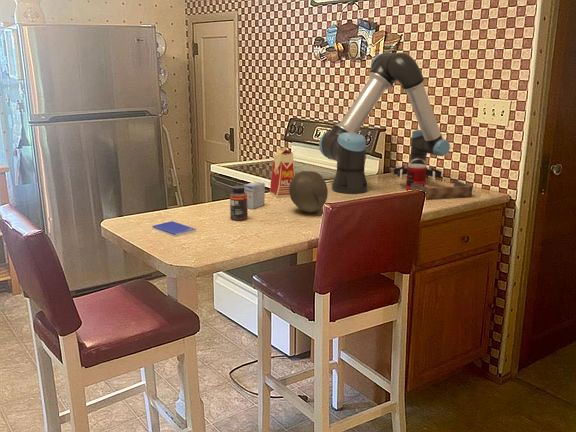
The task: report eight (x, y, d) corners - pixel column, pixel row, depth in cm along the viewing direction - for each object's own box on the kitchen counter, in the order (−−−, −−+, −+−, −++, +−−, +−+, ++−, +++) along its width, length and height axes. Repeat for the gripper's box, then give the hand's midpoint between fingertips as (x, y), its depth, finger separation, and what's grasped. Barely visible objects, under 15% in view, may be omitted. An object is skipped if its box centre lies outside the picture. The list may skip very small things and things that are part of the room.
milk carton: (297, 196, 230) (299, 146, 225) (276, 197, 227) (277, 147, 222) (289, 191, 238) (290, 143, 233) (268, 192, 235) (269, 144, 230)
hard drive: (196, 228, 182) (173, 220, 190) (175, 233, 176) (152, 225, 184) (196, 233, 182) (173, 225, 190) (175, 238, 176) (152, 230, 185)
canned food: (426, 190, 245) (429, 164, 242) (420, 193, 239) (422, 167, 236) (409, 187, 249) (411, 162, 246) (403, 191, 243) (404, 165, 240)
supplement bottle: (244, 215, 201) (244, 184, 198) (249, 220, 196) (249, 187, 192) (228, 217, 199) (227, 185, 196) (232, 221, 193) (232, 189, 190)
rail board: (423, 200, 228) (424, 189, 226) (410, 193, 238) (411, 183, 237) (471, 197, 234) (472, 186, 233) (456, 191, 244) (457, 180, 243)
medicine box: (255, 203, 218) (255, 181, 216) (264, 205, 216) (265, 182, 213) (243, 207, 211) (243, 184, 209) (253, 209, 209) (253, 186, 207)
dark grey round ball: (330, 208, 212) (332, 169, 208) (322, 218, 199) (323, 176, 195) (293, 205, 216) (294, 166, 212) (283, 215, 202) (284, 173, 198)
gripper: (445, 177, 260) (446, 187, 240) (389, 173, 265) (386, 183, 245) (446, 160, 258) (448, 169, 238) (390, 157, 263) (387, 165, 243)
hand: (417, 176), depth 241 cm, fingers open, 13 cm apart
